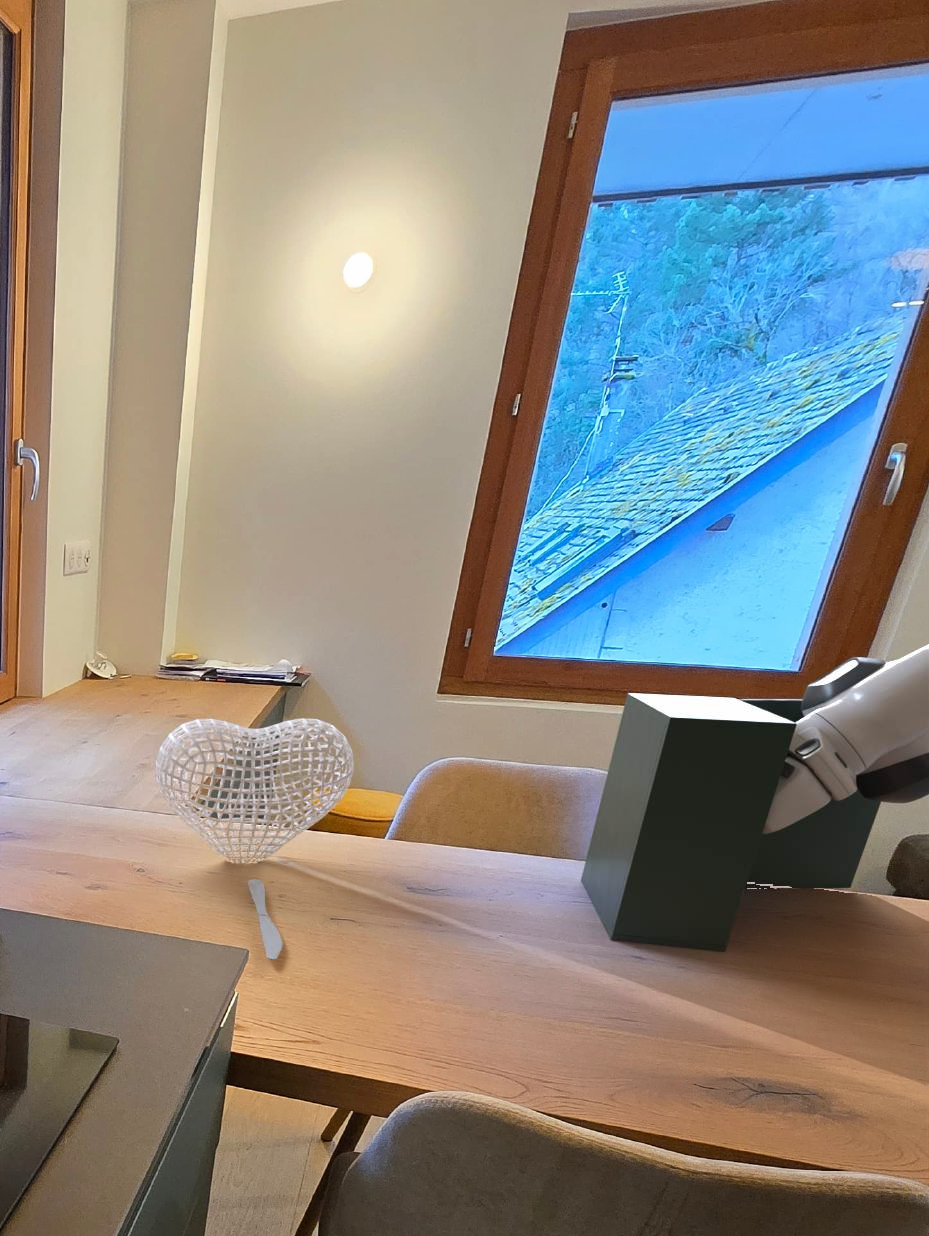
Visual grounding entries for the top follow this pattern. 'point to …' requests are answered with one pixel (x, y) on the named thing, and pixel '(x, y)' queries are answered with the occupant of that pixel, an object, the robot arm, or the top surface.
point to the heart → (253, 780)
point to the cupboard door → (813, 834)
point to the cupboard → (683, 817)
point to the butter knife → (265, 921)
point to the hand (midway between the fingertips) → (691, 830)
